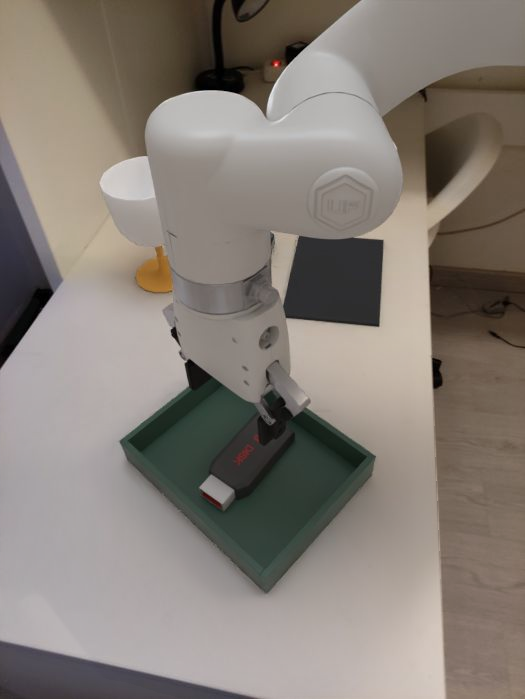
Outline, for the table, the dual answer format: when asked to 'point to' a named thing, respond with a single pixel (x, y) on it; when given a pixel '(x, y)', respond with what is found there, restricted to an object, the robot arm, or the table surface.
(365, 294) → the mat
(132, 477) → the table surface
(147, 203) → the cup
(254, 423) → the usb drive
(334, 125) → the robot arm
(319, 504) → the bin
